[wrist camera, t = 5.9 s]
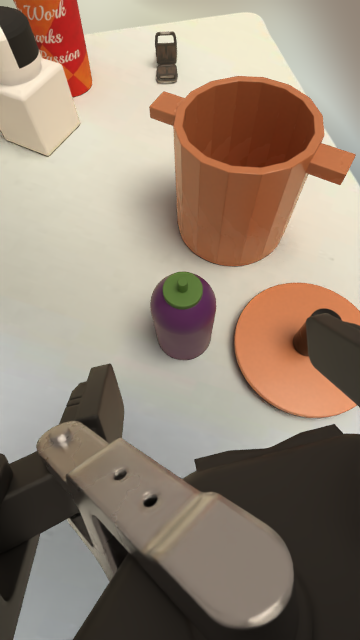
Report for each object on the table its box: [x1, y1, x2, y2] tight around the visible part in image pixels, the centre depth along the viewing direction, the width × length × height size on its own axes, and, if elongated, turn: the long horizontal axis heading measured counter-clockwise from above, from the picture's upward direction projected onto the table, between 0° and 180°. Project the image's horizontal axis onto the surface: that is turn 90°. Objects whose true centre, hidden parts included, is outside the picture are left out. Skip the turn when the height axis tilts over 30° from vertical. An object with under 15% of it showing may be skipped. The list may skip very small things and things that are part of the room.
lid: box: [234, 283, 360, 418], centre depth 27 cm, size 12×12×6 cm
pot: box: [149, 76, 355, 266], centre depth 30 cm, size 11×17×12 cm
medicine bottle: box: [0, 6, 80, 156], centre depth 37 cm, size 7×7×12 cm
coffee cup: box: [13, 0, 92, 97], centre depth 40 cm, size 8×8×15 cm
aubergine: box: [150, 272, 216, 360], centre depth 26 cm, size 5×5×10 cm
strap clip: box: [155, 32, 178, 83], centre depth 46 cm, size 8×3×4 cm, turn 1°
